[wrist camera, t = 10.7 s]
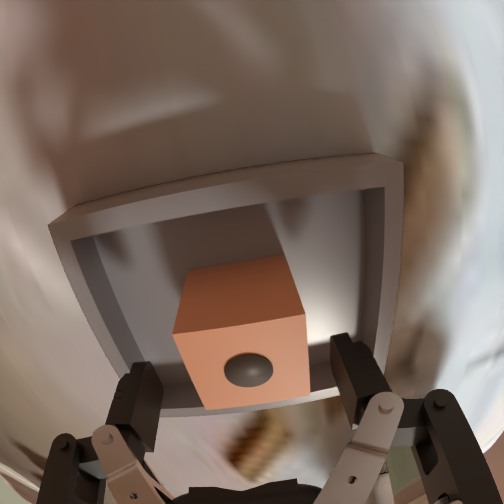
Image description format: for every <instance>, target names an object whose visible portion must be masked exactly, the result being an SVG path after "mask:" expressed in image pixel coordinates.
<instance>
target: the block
mask: <svg viewBox="0 0 504 504" xmlns="http://www.w3.org/2000/svg"><path fill="white" fill-rule="evenodd" d="M172 335H173V338H174V340H175V343H176V345H177V347H178V350H179V352H180V355H181V357H182V359H183V362H184V364H185V366H186V368H187V371H188V373H189V375H190V377H191V379H192V382H193V384H194V386H195V388H196V390H197V392H198V395H199V397H200V399H201V401H202V403H203V405H204V407H205V409H206V410H212V409H223V408H232V407H241V406H249V405H256V404H263V403H270V402H276V401H282V400H288V399H294V398H299V397H304V396H309V395H310V374H309V356H308V340H307V325H306V313H305V311H304V308H303V305H302V302H301V299H300V296H299V293H298V290H297V288H296V285H295V282H294V279H293V276H292V273H291V271H290V268H289V265H288V262H287V259H286V257H285V255H279V256H273V257H267V258H261V259H256V260H250V261H244V262H238V263H232V264H226V265H220V266H214V267H208V268H202V269H196V270H190V271H188V272H187V276H186V279H185V283H184V287H183V291H182V295H181V299H180V303H179V307H178V311H177V315H176V320H175V324H174V328H173V332H172Z"/></svg>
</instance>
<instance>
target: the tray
mask: <svg viewBox="0 0 504 504" xmlns="http://www.w3.org/2000/svg"><path fill="white" fill-rule="evenodd" d="M403 217H404V162H401V161H398V160H395V159H392V158H389V157H386V156H383V155H380V154H377V153H364V154H352V155H341V156H331V157H321V158H312V159H304V160H296V161H288V162H280V163H273V164H266V165H260V166H253V167H247V168H241V169H235V170H229V171H223V172H217V173H212V174H206V175H201V176H196V177H191V178H186V179H181V180H176V181H172V182H167V183H162V184H158V185H153V186H149V187H145V188H140V189H136V190H132V191H128V192H124V193H120V194H116V195H112V196H108V197H104V198H101V199H97V200H93V201H90V202H86V203H83V204H79V205H76V206H74V207H72V208H71V209H69V210H68V211H67V212H65V213H64V214H62V215H61V216H59V217H58V218H57V219H55V220H54V221H52V222H51V223H50V224H48V228H49V231H50V234H51V236H52V239H53V242H54V245H55V248H56V250H57V253H58V255H59V258H60V261H61V263H62V266H63V268H64V271H65V273H66V275H67V278H68V280H69V282H70V285H71V287H72V289H73V291H74V294H75V296H76V298H77V300H78V302H79V305H80V307H81V309H82V311H83V313H84V315H85V317H86V319H87V321H88V323H89V325H90V327H91V329H92V331H93V333H94V335H95V336H96V338H97V340H98V342H99V344H100V346H101V348H102V349H103V351H104V353H105V355H106V356H107V358H108V360H109V362H110V363H111V365H112V367H113V368H114V370H115V372H116V373H117V375H118V377H119V378H120V379H121V378H122V377H123V376H124V374H125V373H130V370H131V367H132V364H133V363H134V362H143V361H150V362H151V363H152V365H153V367H154V369H155V371H156V373H157V375H158V377H159V379H160V381H161V383H162V385H163V400H162V405H161V411H160V416H159V417H189V416H206V415H219V414H229V413H239V412H248V411H256V410H263V409H270V408H276V407H283V406H289V405H294V404H300V403H305V402H310V401H315V400H320V399H324V398H329V397H333V396H338V395H340V393H339V391H338V388H337V385H336V382H335V379H334V376H333V373H332V370H331V365H330V336H331V335H336V334H340V333H345V332H348V334H349V336H350V338H351V340H352V342H357V341H362V342H363V343H364V344H365V345H367V346H368V347H369V348H370V350H371V352H372V354H373V356H374V358H375V360H376V362H377V365H378V366H379V367H380V369H381V371H382V373H383V375H384V371H385V366H386V362H387V357H388V351H389V346H390V341H391V335H392V329H393V323H394V316H395V309H396V302H397V294H398V286H399V276H400V266H401V254H402V239H403ZM279 255H285V257H286V259H287V262H288V265H289V268H290V271H291V273H292V276H293V279H294V282H295V285H296V288H297V290H298V293H299V296H300V299H301V302H302V305H303V308H304V311H305V313H306V325H307V340H308V356H309V374H310V395H309V396H304V397H299V398H294V399H288V400H282V401H276V402H270V403H263V404H256V405H249V406H241V407H232V408H223V409H212V410H206V409H205V407H204V405H203V403H202V401H201V399H200V397H199V395H198V392H197V390H196V388H195V386H194V384H193V382H192V379H191V377H190V375H189V373H188V371H187V368H186V366H185V364H184V362H183V359H182V357H181V355H180V352H179V350H178V347H177V345H176V343H175V340H174V338H173V335H172V332H173V328H174V324H175V320H176V315H177V311H178V307H179V303H180V299H181V295H182V291H183V287H184V283H185V279H186V276H187V272H188V271H190V270H196V269H202V268H208V267H214V266H220V265H226V264H232V263H238V262H244V261H250V260H256V259H261V258H267V257H273V256H279Z"/></svg>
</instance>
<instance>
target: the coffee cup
mask: <svg viewBox="0 0 504 504" xmlns="http://www.w3.org/2000/svg"><path fill="white" fill-rule="evenodd" d="M386 463H387V468H388V473H389V478H390V483H391V488H392V493H393V499H394V504H429V503H428V499H427V496H426V493H425V489H424V486H423V483H422V480H421V477H420V474H419V470H418V467H417V464H416V461H415V458H414V456H413V453H412V450H411V447H410V446H398V447H390V448H389V451H388V454H387V457H386Z"/></svg>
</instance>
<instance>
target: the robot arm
mask: <svg viewBox="0 0 504 504" xmlns="http://www.w3.org/2000/svg"><path fill="white" fill-rule="evenodd" d="M330 365H331V370H332V373H333V376H334V379H335V382H336V385H337V388H338V391H339V393H340V396H341V399H342V402H343V405H344V408H345V411H346V414H347V417H348V420H349V423H350V426H351V429H352V430H354V429H357V430H356V432H355V434H354V436H353V438H352V440H351V442H350V443H348V445H347V446H346V448H345V450H344V451H343V453H342V455H341V457H340V459H339V461H338V463H337V464H336V466H335V468H334V470H333V472H332V473H331V475H330V477H329V479H328V480H327V482H326V484H325V485H324V487H323V489H321V488H319V487H316V486H312V485H306V484H298V483H297V478H296V479H290V480H284V481H277V482H269V483H267V484H264V485H261V486H258V487H255V488H251V489H248V490H245V491H236V490H229V489H223V488H218V487H189V493H187V494H184V495H181V496H179V497H176V498H174V497H173V496H172V495H171V494H170V493H169V492H168V491H167V490H166V489H165V487H164V486H163V485H162V483H161V482H160V481H159V479H158V478H157V476H156V475H155V473H154V472H153V471H152V469H151V468H150V466H149V465H148V463H147V462H146V460H145V459H144V454H145V452H154V446H155V440H156V434H157V428H158V422H159V416H160V411H161V405H162V400H163V385H162V383H161V381H160V379H159V377H158V375H157V373H156V371H155V369H154V367H153V365H152V363H151V362H150V361H143V362H134V363H133V364H132V367H131V370H130V373H125V374H124V376H123V377H122V378H121V379H120V381H119V382H118V385H117V388H116V392H115V394H114V399H113V401H112V404H111V407H110V410H109V413H108V417H107V420H106V423H105V425H103V426H101V427H99V428H98V429H96V430H95V431H94V433H93V435H92V436H91V437H87V438H82V439H77V440H76V439H75V438H74V437H73V436H72V435H71V434H68V433H64V434H60V435H59V436H57V437H56V438H55V439H54V441H53V443H52V446H51V449H50V452H49V456H48V459H47V463H46V466H45V470H44V474H43V478H42V482H41V486H40V490H39V494H38V499H37V503H36V504H103V502H104V494H105V487H106V483H107V486H108V487H109V489H110V491H111V493H112V495H113V497H114V499H115V500H116V502H117V504H394V499H393V493H392V488H391V483H390V478H389V473H385V474H380V475H379V473H380V471H381V469H382V466H383V464H384V462H385V459H386V457H387V454H388V451H389V448H390V447H398V446H410V447H411V450H412V453H413V456H414V458H415V461H416V464H417V467H418V470H419V474H420V477H421V480H422V483H423V486H424V489H425V493H426V496H427V499H428V503H429V504H503V503H502V500H501V497H500V494H499V492H498V489H497V486H496V484H495V481H494V479H493V476H492V474H491V472H490V469H489V467H488V465H487V463H486V460H485V458H484V455H483V453H482V451H481V449H480V446H479V444H478V442H477V440H476V438H475V436H474V434H473V431H472V429H471V427H470V425H469V423H468V421H467V419H466V417H465V415H464V413H463V411H462V409H461V408H460V406H459V404H458V402H457V400H456V398H455V396H454V395H453V394H452V393H451V392H449V391H448V390H445V389H436V390H433V391H431V392H429V393H428V394H427V396H426V397H425V398H423V399H403V398H401V397H400V396H398V395H397V394H395V393H393V392H392V391H391V389H390V387H389V385H388V383H387V381H386V379H385V377H384V375H383V373H382V371H381V369H380V367H379V366H378V365H377V362H376V360H375V358H374V356H373V354H372V352H371V350H370V348H369V347H368V346H367V345H365V344H364V343H363V342H362V341H357V342H352V340H351V338H350V336H349V334H348V332H345V333H340V334H336V335H331V336H330ZM76 478H77V479H76ZM75 483H76V484H75Z"/></svg>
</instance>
